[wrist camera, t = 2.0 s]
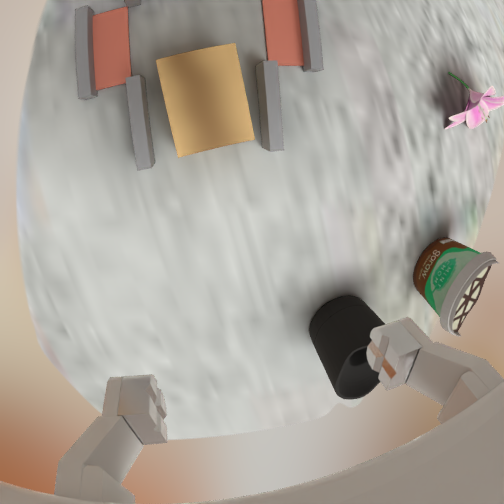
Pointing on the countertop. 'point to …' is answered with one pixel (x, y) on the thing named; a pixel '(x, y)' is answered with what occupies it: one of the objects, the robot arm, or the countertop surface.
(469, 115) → the lily
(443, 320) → the food container
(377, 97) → the countertop surface
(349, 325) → the pen holder
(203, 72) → the honey block
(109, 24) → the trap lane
